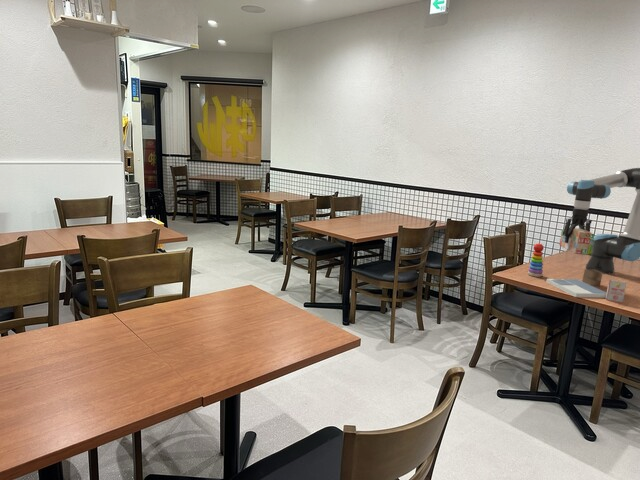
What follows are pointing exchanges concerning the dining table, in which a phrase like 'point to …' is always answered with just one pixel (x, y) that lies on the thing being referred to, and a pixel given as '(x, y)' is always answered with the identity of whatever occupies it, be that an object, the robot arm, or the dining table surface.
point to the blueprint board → (577, 288)
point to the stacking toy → (536, 261)
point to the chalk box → (591, 245)
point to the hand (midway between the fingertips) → (573, 249)
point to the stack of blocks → (577, 241)
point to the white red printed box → (615, 291)
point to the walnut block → (592, 277)
